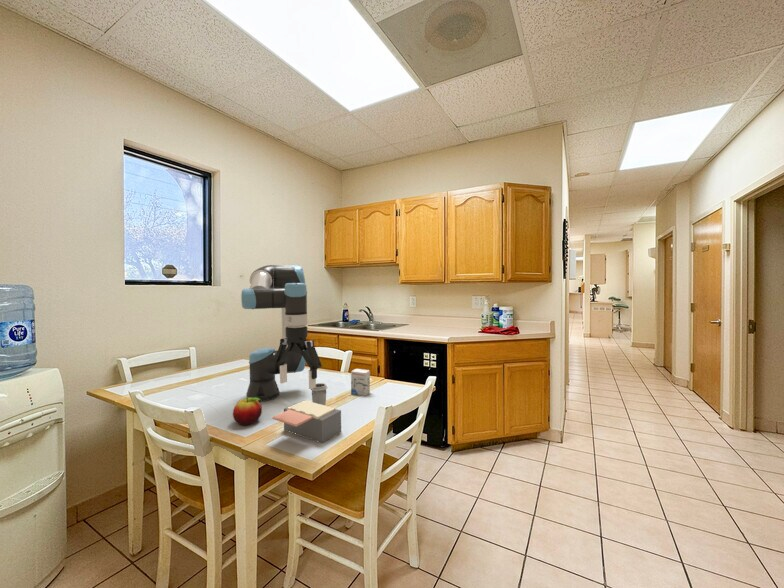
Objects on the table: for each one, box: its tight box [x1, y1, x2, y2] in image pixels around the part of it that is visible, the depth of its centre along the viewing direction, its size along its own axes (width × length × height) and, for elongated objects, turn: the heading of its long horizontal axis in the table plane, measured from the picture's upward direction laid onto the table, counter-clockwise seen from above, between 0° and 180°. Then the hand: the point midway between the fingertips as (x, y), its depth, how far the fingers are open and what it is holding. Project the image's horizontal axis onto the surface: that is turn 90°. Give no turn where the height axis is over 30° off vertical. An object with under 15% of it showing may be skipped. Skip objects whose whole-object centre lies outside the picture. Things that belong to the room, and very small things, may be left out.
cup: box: [310, 382, 328, 406], centre depth 141 cm, size 7×7×12 cm
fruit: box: [232, 397, 263, 426], centre depth 132 cm, size 11×11×10 cm
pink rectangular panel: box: [272, 410, 312, 427], centre depth 116 cm, size 12×8×1 cm, turn 58°
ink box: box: [350, 368, 371, 397], centre depth 164 cm, size 9×5×12 cm, turn 68°
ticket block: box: [283, 400, 342, 444], centre depth 124 cm, size 20×10×9 cm, turn 58°
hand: (297, 385), depth 117 cm, fingers open, 13 cm apart
